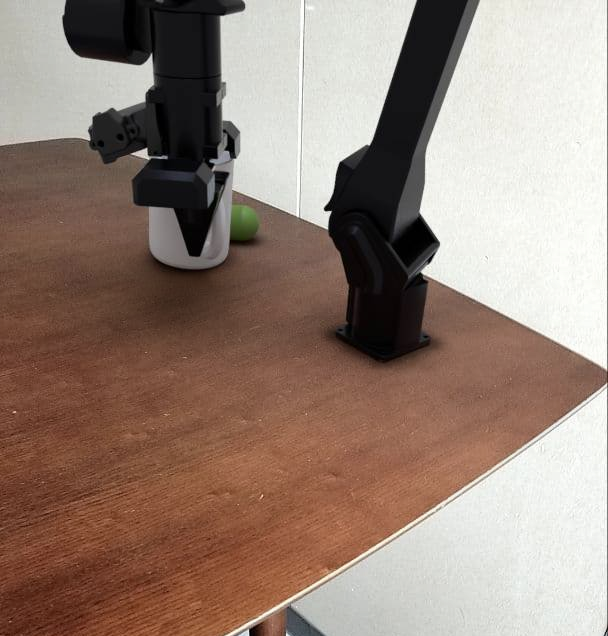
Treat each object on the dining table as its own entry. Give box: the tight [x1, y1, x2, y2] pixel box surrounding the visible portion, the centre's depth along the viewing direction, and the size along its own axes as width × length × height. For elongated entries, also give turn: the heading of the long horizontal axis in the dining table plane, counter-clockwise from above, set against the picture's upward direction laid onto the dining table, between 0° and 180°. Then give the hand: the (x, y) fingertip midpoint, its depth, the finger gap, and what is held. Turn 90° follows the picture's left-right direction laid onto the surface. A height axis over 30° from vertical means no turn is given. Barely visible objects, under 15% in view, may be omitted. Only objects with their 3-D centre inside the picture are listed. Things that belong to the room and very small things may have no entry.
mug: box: [148, 151, 235, 270], centre depth 86 cm, size 12×8×10 cm
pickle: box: [229, 204, 260, 242], centre depth 94 cm, size 10×4×4 cm, turn 86°
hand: (194, 256), depth 82 cm, fingers closed
